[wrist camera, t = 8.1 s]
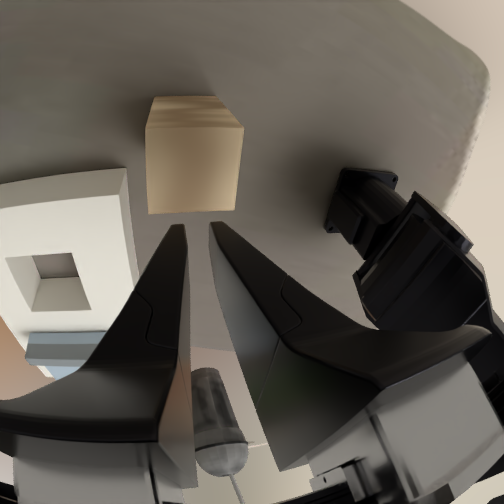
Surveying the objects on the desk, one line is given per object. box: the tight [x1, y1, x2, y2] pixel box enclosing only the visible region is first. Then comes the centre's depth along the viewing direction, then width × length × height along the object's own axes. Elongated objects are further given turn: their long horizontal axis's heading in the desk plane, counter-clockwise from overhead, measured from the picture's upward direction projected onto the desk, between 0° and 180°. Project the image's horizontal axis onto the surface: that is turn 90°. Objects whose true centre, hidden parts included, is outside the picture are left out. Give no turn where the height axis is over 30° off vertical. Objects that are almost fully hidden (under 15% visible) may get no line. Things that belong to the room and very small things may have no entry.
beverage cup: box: [191, 368, 248, 504], centre depth 32 cm, size 7×7×20 cm
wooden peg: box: [145, 96, 244, 214], centre depth 15 cm, size 4×4×8 cm
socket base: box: [0, 168, 140, 377], centre depth 22 cm, size 14×22×4 cm, turn 173°
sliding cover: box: [25, 332, 106, 380], centre depth 23 cm, size 9×8×3 cm
